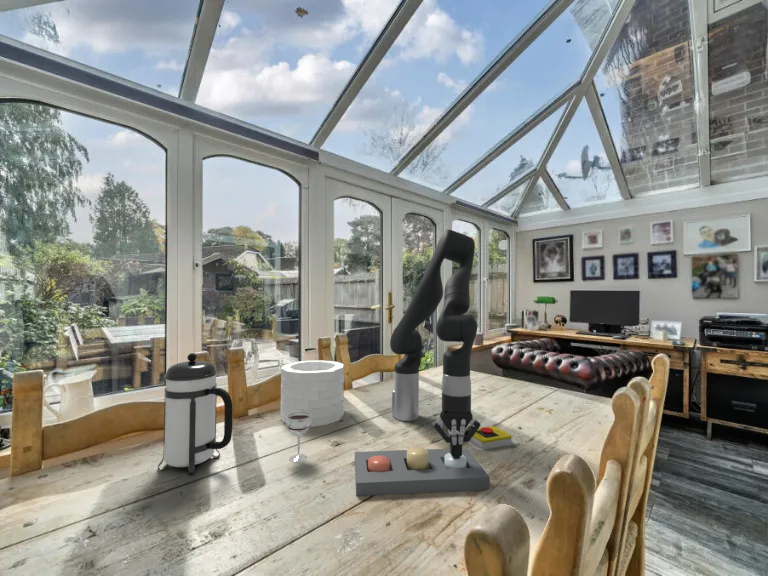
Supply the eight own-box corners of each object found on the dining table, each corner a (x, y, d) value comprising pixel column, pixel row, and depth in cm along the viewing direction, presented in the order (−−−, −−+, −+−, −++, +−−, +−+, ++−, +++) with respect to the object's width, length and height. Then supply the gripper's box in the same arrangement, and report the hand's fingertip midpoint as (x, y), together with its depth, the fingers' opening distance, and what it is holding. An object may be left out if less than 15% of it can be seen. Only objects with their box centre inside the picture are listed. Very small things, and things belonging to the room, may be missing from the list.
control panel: (356, 496, 82) (356, 483, 82) (354, 462, 97) (354, 451, 98) (489, 489, 85) (489, 477, 85) (466, 458, 101) (467, 447, 101)
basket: (276, 409, 141) (277, 362, 141) (334, 402, 151) (335, 358, 151) (285, 432, 118) (285, 375, 118) (352, 422, 128) (353, 370, 128)
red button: (368, 482, 87) (368, 466, 87) (367, 471, 93) (367, 455, 93) (390, 481, 88) (391, 465, 88) (388, 470, 93) (388, 455, 93)
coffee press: (153, 485, 85) (156, 360, 86) (160, 457, 99) (162, 350, 100) (231, 469, 93) (233, 355, 94) (227, 445, 107) (229, 347, 108)
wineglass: (315, 455, 102) (315, 413, 102) (302, 465, 96) (302, 421, 96) (294, 451, 104) (295, 410, 104) (281, 461, 98) (281, 418, 98)
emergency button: (461, 426, 115) (499, 421, 120) (461, 440, 114) (498, 434, 120) (479, 437, 106) (518, 431, 111) (478, 452, 106) (518, 445, 111)
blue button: (447, 478, 89) (447, 463, 89) (441, 468, 95) (442, 453, 95) (469, 477, 90) (469, 462, 90) (462, 467, 95) (462, 452, 95)
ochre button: (408, 473, 88) (408, 457, 88) (405, 462, 94) (405, 447, 94) (430, 472, 89) (430, 456, 89) (425, 461, 94) (425, 446, 94)
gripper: (435, 395, 88) (434, 465, 88) (486, 394, 89) (486, 463, 89) (428, 387, 96) (427, 452, 95) (475, 386, 97) (475, 450, 97)
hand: (456, 457), depth 92 cm, fingers closed
